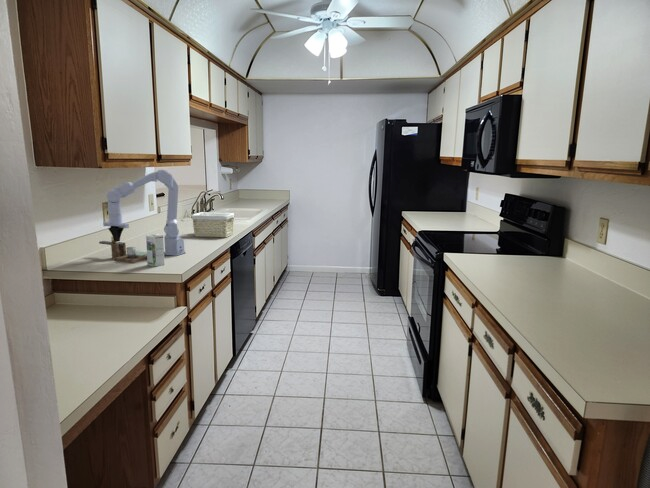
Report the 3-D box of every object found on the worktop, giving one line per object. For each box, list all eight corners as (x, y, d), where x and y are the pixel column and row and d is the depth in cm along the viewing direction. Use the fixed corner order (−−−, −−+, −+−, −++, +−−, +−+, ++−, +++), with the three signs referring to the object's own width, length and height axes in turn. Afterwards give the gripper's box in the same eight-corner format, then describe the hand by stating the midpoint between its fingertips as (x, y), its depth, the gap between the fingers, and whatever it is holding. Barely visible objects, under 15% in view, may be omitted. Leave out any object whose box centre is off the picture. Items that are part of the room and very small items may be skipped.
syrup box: (147, 265, 198) (145, 235, 195) (157, 262, 203) (156, 233, 200) (154, 266, 195) (152, 236, 192) (165, 264, 200) (163, 234, 197)
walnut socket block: (148, 258, 211) (147, 244, 209) (133, 262, 201) (132, 247, 200) (124, 255, 216) (123, 241, 215) (108, 259, 207) (106, 244, 205)
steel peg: (137, 259, 209) (137, 247, 208) (131, 260, 206) (130, 248, 204) (131, 258, 211) (130, 246, 209) (125, 259, 207) (124, 248, 206)
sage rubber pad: (151, 253, 221) (151, 253, 221) (140, 256, 214) (139, 256, 214) (138, 252, 224) (138, 251, 224) (126, 255, 217) (126, 254, 217)
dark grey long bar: (124, 245, 210) (123, 237, 209) (120, 246, 207) (119, 238, 207) (103, 242, 214) (102, 235, 214) (99, 243, 212) (98, 235, 211)
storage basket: (191, 237, 270) (190, 214, 267) (201, 232, 285) (200, 211, 283) (227, 238, 267) (226, 215, 264) (235, 234, 283) (235, 212, 280)
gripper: (97, 214, 205) (99, 241, 208) (119, 216, 200) (121, 244, 203) (109, 212, 212) (111, 239, 215) (131, 214, 207) (133, 241, 210)
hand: (117, 241), depth 209 cm, fingers closed
